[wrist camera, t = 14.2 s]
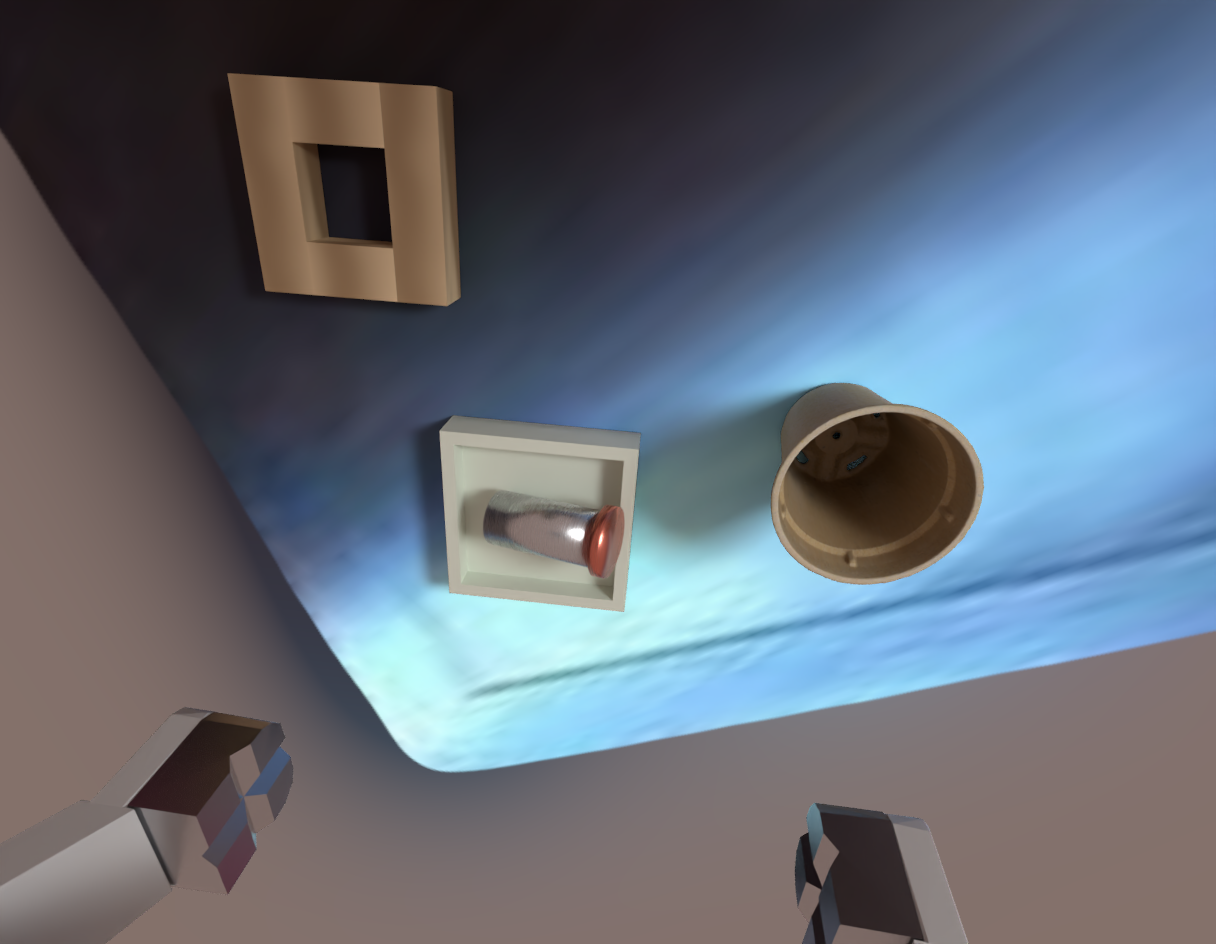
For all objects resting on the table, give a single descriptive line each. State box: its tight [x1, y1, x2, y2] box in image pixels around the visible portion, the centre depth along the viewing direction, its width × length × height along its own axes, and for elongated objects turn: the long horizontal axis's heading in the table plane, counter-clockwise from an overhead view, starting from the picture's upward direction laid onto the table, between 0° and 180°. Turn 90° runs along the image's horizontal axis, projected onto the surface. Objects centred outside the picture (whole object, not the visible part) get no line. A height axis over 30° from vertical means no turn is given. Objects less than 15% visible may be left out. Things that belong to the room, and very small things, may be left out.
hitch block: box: [227, 73, 461, 306], centre depth 33 cm, size 10×10×2 cm
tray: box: [440, 415, 641, 612], centre depth 40 cm, size 12×12×2 cm
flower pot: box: [771, 383, 984, 585], centre depth 33 cm, size 9×9×9 cm
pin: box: [483, 490, 625, 579], centre depth 38 cm, size 4×4×8 cm
